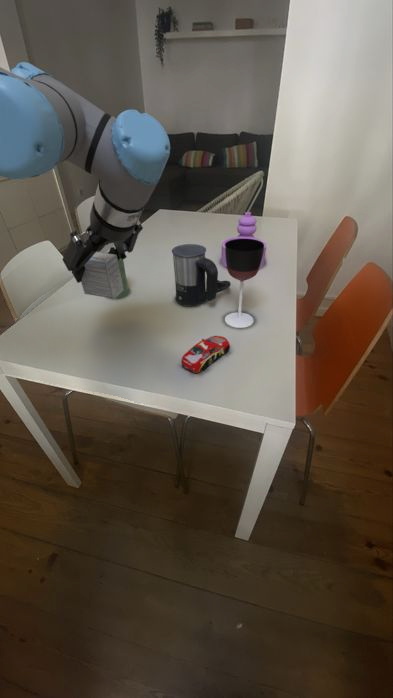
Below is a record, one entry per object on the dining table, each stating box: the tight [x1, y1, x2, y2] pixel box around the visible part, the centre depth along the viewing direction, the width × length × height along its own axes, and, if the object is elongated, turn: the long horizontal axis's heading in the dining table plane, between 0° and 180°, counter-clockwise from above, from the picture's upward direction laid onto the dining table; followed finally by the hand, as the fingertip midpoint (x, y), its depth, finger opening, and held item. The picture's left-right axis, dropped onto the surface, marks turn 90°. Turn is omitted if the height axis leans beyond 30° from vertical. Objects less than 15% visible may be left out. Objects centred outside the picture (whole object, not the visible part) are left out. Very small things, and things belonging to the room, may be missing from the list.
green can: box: [104, 251, 130, 300], centre depth 93 cm, size 7×7×12 cm
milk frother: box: [171, 243, 232, 307], centre depth 90 cm, size 14×16×15 cm
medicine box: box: [80, 252, 124, 300], centre depth 70 cm, size 8×4×9 cm, turn 70°
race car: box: [180, 335, 231, 374], centre depth 70 cm, size 13×5×4 cm, turn 137°
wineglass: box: [224, 239, 264, 329], centre depth 78 cm, size 8×9×20 cm
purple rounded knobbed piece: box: [220, 211, 267, 269], centre depth 113 cm, size 25×15×13 cm, turn 169°
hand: (93, 271), depth 72 cm, fingers closed on medicine box, 7 cm apart
